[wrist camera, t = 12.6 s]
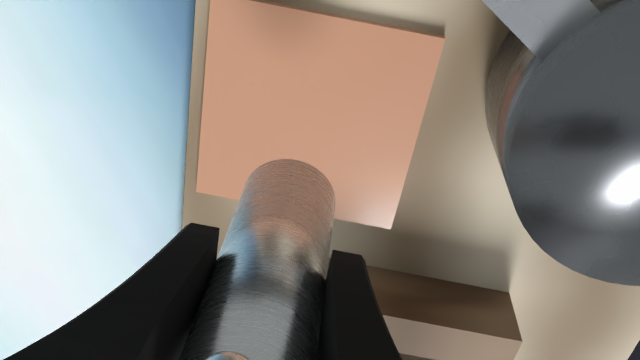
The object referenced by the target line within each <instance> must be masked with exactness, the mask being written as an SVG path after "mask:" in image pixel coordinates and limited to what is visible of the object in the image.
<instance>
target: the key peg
mask: <svg viewBox="0 0 640 360" xmlns="http://www.w3.org/2000/svg"><path fill="white" fill-rule="evenodd" d="M334 211H335V194H334V190H333V187H332V185H331V183H330V182H329V180H328V179H327V177H326V176H325V175H324V174H323V173H322V172H321V171H319V170H318V169H317V168H315V167H314V166H312V165H310V164H308V163H306V162H303V161H299V160H294V159H277V160H273V161H269V162H267V163H264V164H262V165H261V166H259V167H258V168H257V169H255V170H254V171H253V172H252V173H251V174H250V176H249V177H248V179H247V181H246V183H245V186H244V189H243V191H242V194H241V197H240V199H239V202H238V204H237V207H236V210H235V212H234V215H233V218H232V220H231V223H230V225H229V228H228V231H227V233H226V236H225V239H224V241H223V244H222V247H221V249H220V252H219V254H218V257H217V260H216V263H215V265H214V268H213V270H212V273H211V276H210V278H209V281H208V284H207V286H206V289H205V292H204V294H203V297H202V299H201V302H200V304H199V307H198V310H197V312H196V315H195V318H194V320H193V323H192V326H191V328H190V331H189V333H188V336H187V339H186V341H185V344H184V347H183V349H182V352H181V354H180V357H179V360H317V351H318V343H319V335H320V325H321V313H322V305H323V297H324V289H325V281H326V277H327V269H328V261H329V252H330V244H331V236H332V228H333V219H334Z"/></svg>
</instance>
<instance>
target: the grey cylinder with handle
mask: <svg viewBox="0 0 640 360" xmlns="http://www.w3.org/2000/svg"><path fill="white" fill-rule="evenodd" d="M482 1H483V2H484V3H485V4H486V5H487V6H488V7H489V8H490V9H491V10H492V11H493V12H494V13H495V15H496V16H497V17H498V18H499V19H500V20H501V21H502V22H503V23H504V24H505V25H506V26H507V27H508V28H509V29H510V31H509V32H508V34H507V36H506V37H505V39H504V41H503V42H502V44H501V46H500V48H499V50H498V52H497V54H496V57H495V59H494V61H493V64H492V67H491V70H490V74H489V77H488V81H487V88H486V94H485V115H486V122H487V128H488V131H489V135H490V138H491V141H492V144H493V147H494V150H495V153H496V156H497V159H498V162H499V164H500V167H501V170H502V173H503V176H504V179H505V182H506V185H507V187H508V190H509V193H510V196H511V199H512V202H513V205H514V208H515V210H516V213H517V215H518V217H519V219H520V221H521V223H522V225H523V227H524V228H525V230H526V231H527V232H528V234H529V235H530V237H531V238H532V240H533V241H534V242H535V243H536V244H537V245H538V246H539V247H540V248H541V249H542V250H543V251H544V252H545V253H547V254H548V255H549V256H551V257H552V258H553V259H555V260H556V261H557V262H559V263H560V264H562V265H564V266H566V267H568V268H569V269H571V270H573V271H575V272H578V273H580V274H583V275H585V276H587V277H590V278H594V279H597V280H601V281H605V282H609V283H615V284H621V285H628V286H640V0H482Z"/></svg>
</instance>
